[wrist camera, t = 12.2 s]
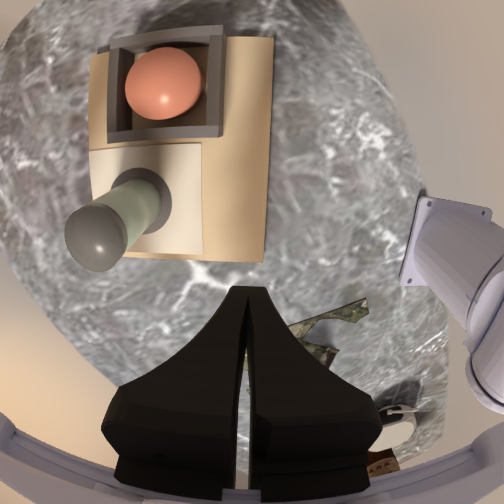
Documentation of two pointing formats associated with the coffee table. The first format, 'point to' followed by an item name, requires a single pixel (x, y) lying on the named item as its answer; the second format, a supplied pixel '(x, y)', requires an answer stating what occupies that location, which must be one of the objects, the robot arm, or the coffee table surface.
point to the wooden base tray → (190, 145)
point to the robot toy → (395, 426)
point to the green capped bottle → (111, 224)
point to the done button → (164, 84)
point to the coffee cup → (381, 463)
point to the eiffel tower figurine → (300, 329)
